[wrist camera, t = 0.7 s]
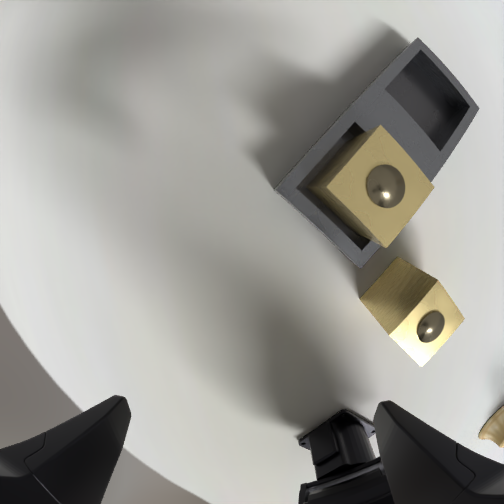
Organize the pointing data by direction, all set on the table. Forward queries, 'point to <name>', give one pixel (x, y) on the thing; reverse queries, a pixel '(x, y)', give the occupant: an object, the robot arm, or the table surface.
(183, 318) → the table surface
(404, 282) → the tan knobbed block
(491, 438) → the hand bell
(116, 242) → the table surface
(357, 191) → the block
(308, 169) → the grey slotted tray
